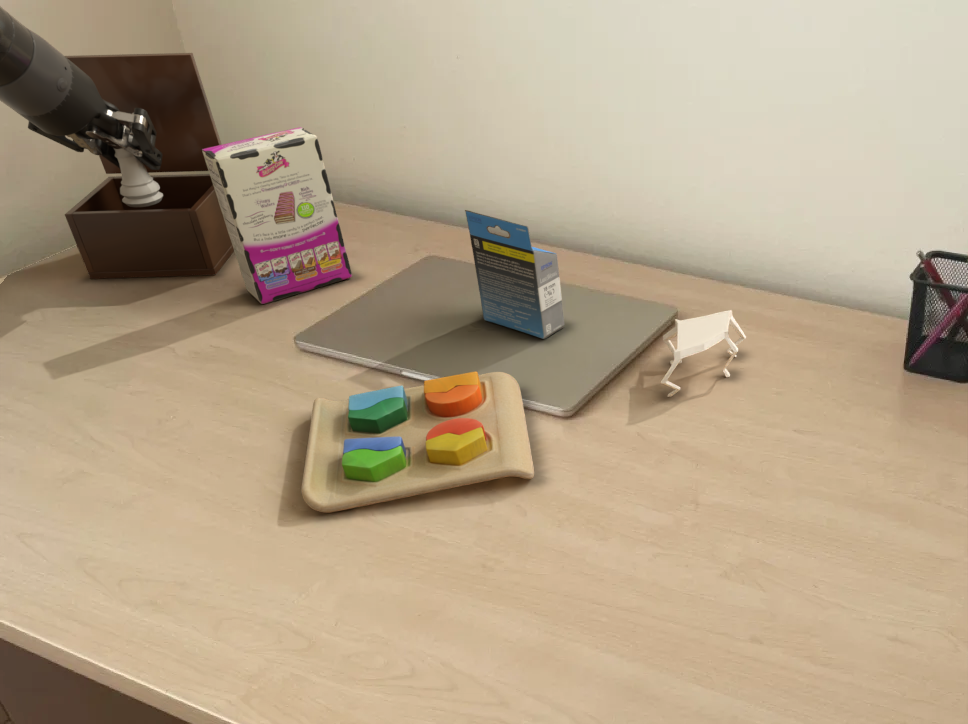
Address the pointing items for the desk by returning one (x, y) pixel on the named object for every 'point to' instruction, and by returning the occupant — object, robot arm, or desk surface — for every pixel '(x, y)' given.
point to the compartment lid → (158, 103)
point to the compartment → (152, 230)
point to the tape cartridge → (515, 277)
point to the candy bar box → (279, 213)
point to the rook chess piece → (136, 181)
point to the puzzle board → (415, 441)
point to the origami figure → (700, 339)
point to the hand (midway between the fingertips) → (141, 161)
